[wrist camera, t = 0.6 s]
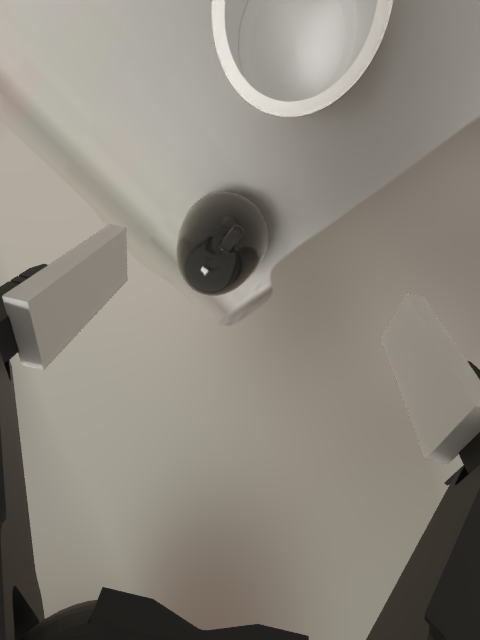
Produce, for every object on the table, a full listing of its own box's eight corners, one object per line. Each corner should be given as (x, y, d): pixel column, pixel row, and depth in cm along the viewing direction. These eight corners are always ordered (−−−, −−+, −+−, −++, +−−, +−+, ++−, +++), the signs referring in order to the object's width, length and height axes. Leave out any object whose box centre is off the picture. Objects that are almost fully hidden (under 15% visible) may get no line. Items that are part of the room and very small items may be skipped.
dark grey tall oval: (288, 219, 40) (286, 268, 27) (239, 278, 45) (219, 343, 32) (220, 164, 37) (185, 191, 25) (178, 233, 43) (130, 285, 30)
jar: (309, -62, 27) (326, -213, 14) (373, 55, 30) (431, 15, 18) (219, 49, 32) (173, 7, 19) (283, 139, 35) (279, 154, 23)
